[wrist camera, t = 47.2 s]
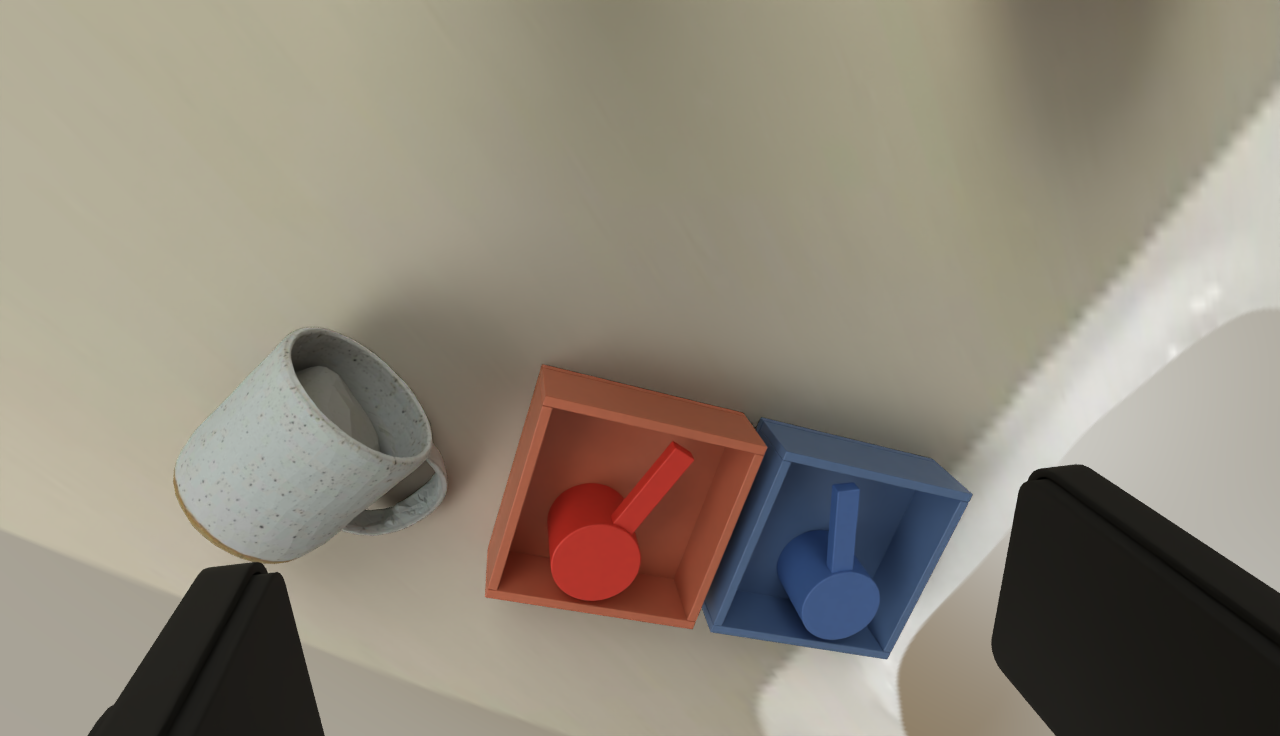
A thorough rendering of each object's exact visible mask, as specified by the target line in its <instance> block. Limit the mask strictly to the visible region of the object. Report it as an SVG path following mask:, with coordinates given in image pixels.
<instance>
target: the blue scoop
mask: <svg viewBox="0 0 1280 736" xmlns="http://www.w3.org/2000/svg"><path fill="white" fill-rule="evenodd" d="M859 497H860V489H859V488H858V487H857V485H856V484H855V483H854V482H850V483H842V484H833V485H832V495H831V508H830V522H829V531H826V530H813V531H809V532H806V533H803V534H801V535H799V536H797V537H796V538H794V539H793V540H791V541H790V542H789V543H788V544H787V545H786V546H785V548H784V549H783V550H782V552H781V554H780V556H779V559H778V562H777V574H778V577H779V580H780V582H781V583H782V585H783V587H784V589H785V591H786V593H787V594H788V596H789V598H790V600H791V602H792V604H793V606H794V607H795V609H796V611H797V613H798V615H799V617H800V618H801V620H802V622H803V624H804V626H805V628H806V629H807V630H808V631H809V632H810V633H811V634H813V635H815V636H816V637H819V638H822V639H827V640H837V639H843V638H846V637H849V636H852V635H854V634H856V633H857V632H859V631H861V630H862V629H863V628H864V627H866V626H867V625H868V624H869V623H870V622H871V620H872V619H873V618H874V616H875V614H876V612H877V610H878V607H879V603H880V593H879V589H878V587H877V585H876V583H875V582H874V581H873V579H872V578H871V576H870V575H869V574H868V572H867V571H866V570H865V568H864V567H863V566H862V564H861V563H860V561H859V560H858V559H857V557H856V556H855V555H854V552H855V541H856V530H857V519H858V508H859Z"/></svg>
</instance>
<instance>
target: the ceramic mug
mask: <svg viewBox="0 0 1280 736" xmlns="http://www.w3.org/2000/svg"><path fill="white" fill-rule="evenodd" d="M425 460H426V461H427V462H428V463H429V465H430V466H431V467H432V468H433V469H434V471H435V474H434V475H433V476H432V478H431V480H430V481H428V483H427V484H425V485H424V486H423V487H421V488H420V489H419V490H418V491H416V492H415V493H413V494H412V495H410V496H409V497H408V498H406V499H405V500H404V501H401V502H399V503H397V504H396V505H395V506H393V507H389V508H386V509H376V510H365V509H366V508H368V507H369V506H370V505H371V504H373V503H374V502H375V501H377V500H378V499H379V498H380V497H382V496H383V495H384V494H386V493H387V492H388V491H389V490H390V489H392V488H393V487H394V486H395V485H396V484H398V483H399V482H400V481H402V480H403V479H404V478H406V477H407V476H408V475H409V474H411V473H412V472H413V471H414V470H416V469H417V468H418V467H419V466H420V465H421V464H422V463H423V462H424V461H425ZM173 483H174V488H175V494H176V497H177V499H178V502H179V504H180V506H181V508H182V510H183V511H184V513H185V515H186V516H187V518H188V519H189V521H190V523H191V524H192V526H193V527H194V528H195V529H196V530H197V531H198V532H199V533H201V534H202V535H203V536H204V537H205V538H206V539H207V540H209V541H210V542H211V543H213V544H214V545H215V546H217V547H219V548H221V549H223V550H224V551H226V552H228V553H230V554H232V555H234V556H237V557H239V558H242V559H245V560H248V561H252V562H260V563H267V564H277V563H284V562H289V561H292V560H294V559H297V558H299V557H301V556H303V555H305V554H307V553H309V552H311V551H312V550H314V549H316V548H318V547H319V546H321V545H323V544H324V543H326V542H327V541H328V540H330V539H331V538H332V537H333V536H335V535H336V534H337V533H338V532H340V531H344V532H348V533H352V534H356V535H370V536H376V535H382V534H388V533H392V532H396V531H399V530H402V529H405V528H407V527H409V526H411V525H413V524H415V523H417V522H419V521H420V520H422V519H424V518H425V517H426V516H428V515H429V514H430V513H432V512H433V511H434V510H435V509H436V508H437V507H438V506H439V505H440V504H441V502H442V501H443V499H444V498H445V496H446V493H447V489H448V477H447V472H446V469H445V464H444V461H443V458H442V456H441V453H440V451H439V450H438V449H437V448H436V446H435V445H434V444H433V439H432V431H431V426H430V423H429V421H428V419H427V416H426V414H425V412H424V411H423V409H422V406H421V404H420V403H419V402H418V400H417V399H416V397H415V395H414V394H413V392H412V391H411V389H410V388H409V387H408V386H407V384H406V383H405V382H404V381H403V380H402V379H401V378H400V377H399V376H398V375H397V374H396V373H395V372H394V371H393V370H392V369H391V368H390V367H389V366H388V365H387V364H386V363H385V362H384V361H383V360H381V359H380V358H379V357H378V356H376V355H375V354H374V353H373V352H371V351H370V350H368V349H367V348H366V347H364V346H362V345H361V344H359V343H358V342H356V341H355V340H353V339H351V338H349V337H346V336H344V335H341V334H339V333H337V332H335V331H332V330H329V329H325V328H319V327H306V328H302V329H298V330H295V331H293V332H292V333H290V334H288V335H287V336H286V337H285V338H284V339H283V340H282V341H281V342H280V343H279V344H278V345H277V347H276V348H275V349H274V350H273V351H272V352H271V353H270V354H269V355H268V356H267V357H266V358H265V359H264V360H263V361H262V362H261V363H260V364H259V365H258V366H257V367H256V368H255V369H254V370H253V371H252V372H251V373H250V374H249V375H248V376H247V377H246V378H245V379H244V380H243V381H242V383H241V384H240V385H239V386H238V387H237V388H236V389H235V390H234V391H233V392H232V394H231V395H230V396H229V397H228V398H227V399H226V400H225V401H224V402H223V403H222V404H221V405H220V406H219V407H218V408H217V409H216V410H215V411H214V412H213V413H212V414H211V415H210V416H209V417H208V418H207V419H206V420H205V421H204V422H203V423H202V424H201V425H200V426H199V427H198V428H197V429H196V430H195V431H194V433H193V434H192V436H191V437H190V439H189V440H188V442H187V443H186V445H185V446H184V448H183V449H182V450H181V452H180V455H179V457H178V459H177V461H176V464H175V468H174V479H173Z"/></svg>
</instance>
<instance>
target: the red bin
mask: <svg viewBox="0 0 1280 736" xmlns="http://www.w3.org/2000/svg"><path fill="white" fill-rule="evenodd" d="M672 441H674V442H676V443H677V444H679V445H681V446H682V447H684V448H685V449H687V450H688V451H690V452H691V454H692V456H693V458H694V461H693V463H692V464H691V465H690V466H689V467H688V468H687V470H686V471H685V472H684V473H683V474H682V476H681V477H680V478H679V479H678V480H677V482H676V483H675V484H674V485H673V486H672V488H671V489H670V490H669V491H668V492H667V494H666V495H665V496H664V497H663V498H662V499H661V501H660V502H659V503H658V504H657V505H656V507H655V508H654V509H653V510H652V511H651V513H650V514H649V515H648V516H647V517H646V519H645V520H644V521H643V522H642V523H641V525H640V526H639V527H638V528H637V529H636V531H635V534H636V537H637V541H638V545H639V548H640V552H641V565H640V569H639V571H638V574H637V576H636V577H635V579H634V580H633V582H632V583H631V584H630V585H629V586H628V587H627V588H626V589H625V590H623V591H622V592H620V593H619V594H617V595H615V596H613V597H610V598H607V599H603V600H596V601H588V600H581V599H577V598H574V597H572V596H570V595H568V594H566V593H565V592H564V591H562V590H561V589H560V588H559V587H558V585H557V584H556V583H555V581H554V579H553V577H552V573H551V567H550V554H549V541H548V528H547V517H548V513H549V510H550V507H551V506H552V504H553V502H554V501H555V500H556V499H557V497H558V496H559V495H561V494H562V493H563V492H564V491H566V490H567V489H569V488H571V487H574V486H577V485H580V484H586V483H597V484H602V485H606V486H609V487H611V488H612V489H614V490H616V491H617V492H618V493H619V494H620V495H621V496H622V497H623V498H624V499H625V498H626V497H627V495H628V494H629V493H630V492H631V491H632V489H633V488H634V487H635V486H636V485H637V483H638V482H639V481H640V480H641V478H642V477H643V476H644V475H645V474H646V472H647V471H648V470H649V469H650V468H651V466H652V465H653V464H654V463H655V461H656V460H657V459H658V458H659V457H660V455H661V454H662V453H663V452H664V451H665V449H666V448H667V447H668V446H669V444H670V443H671V442H672ZM766 450H767V446H766V444H765V443H764V441H763V440H762V439H761V437H760V436H759V434H758V433H757V432H756V430H755V429H754V427H753V426H752V424H751V423H750V422H749V420H748V419H747V417H746V416H745V415H744V413H742V412H738V411H734V410H729V409H725V408H721V407H717V406H713V405H709V404H705V403H701V402H696V401H692V400H688V399H684V398H680V397H676V396H672V395H668V394H663V393H659V392H655V391H651V390H647V389H643V388H639V387H635V386H630V385H626V384H622V383H618V382H614V381H610V380H606V379H602V378H597V377H593V376H589V375H585V374H581V373H577V372H573V371H569V370H564V369H560V368H556V367H552V366H548V365H544V364H542V366H541V369H540V373H539V376H538V380H537V383H536V386H535V390H534V393H533V397H532V400H531V403H530V407H529V410H528V414H527V417H526V420H525V424H524V427H523V431H522V434H521V437H520V441H519V444H518V448H517V451H516V454H515V458H514V461H513V465H512V468H511V471H510V475H509V478H508V482H507V485H506V488H505V492H504V495H503V499H502V502H501V505H500V509H499V512H498V516H497V519H496V522H495V526H494V529H493V533H492V536H491V539H490V543H489V546H488V552H487V570H486V588H485V597H487V598H494V599H500V600H507V601H513V602H519V603H526V604H532V605H539V606H545V607H552V608H558V609H565V610H571V611H578V612H584V613H591V614H597V615H603V616H610V617H616V618H623V619H629V620H636V621H642V622H649V623H655V624H662V625H668V626H675V627H681V628H688V629H693V627H694V625H695V621H696V620H697V617H698V615H699V612H700V610H701V608H702V605H703V603H704V600H705V598H706V595H707V593H708V591H709V588H710V586H711V583H712V581H713V578H714V576H715V574H716V571H717V569H718V566H719V564H720V561H721V559H722V557H723V554H724V552H725V549H726V547H727V544H728V542H729V540H730V537H731V535H732V532H733V530H734V527H735V525H736V523H737V520H738V518H739V515H740V513H741V510H742V508H743V506H744V503H745V501H746V498H747V496H748V493H749V491H750V489H751V486H752V484H753V481H754V479H755V476H756V474H757V472H758V469H759V467H760V464H761V462H762V459H763V457H764V456H763V455H764V454H765V452H766Z"/></svg>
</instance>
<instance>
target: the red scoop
mask: <svg viewBox="0 0 1280 736" xmlns="http://www.w3.org/2000/svg"><path fill="white" fill-rule="evenodd" d="M693 461H694V458H693V456H692V454H691V452H690V451H688V450H687V449H685V448H684V447H682V446H681V445H679V444H677V443H676V442H674V441H672V442H671V443H670V444H669V446H668V447H667V448H666V449H665V451H664V452H663V453H662V454H661V455H660V457H659V458H658V459H657V460H656V461H655V463H654V464H653V465H652V466H651V468H650V469H649V470H648V471H647V472H646V474H645V475H644V476H643V477H642V478H641V480H640V481H639V482H638V483H637V485H636V486H635V487H634V488H633V489H632V491H631V492H630V493H629V494H628V495H627V497H626V498H625V499H624V498H623V497H622V496H621V495H620V494H619V493H618V492H617V491H616V490H614V489H612V488H611V487H609V486H606V485H602V484H597V483H586V484H580V485H577V486H574V487H571V488H569V489H567V490H566V491H564V492H563V493H562V494H561V495H559V496H558V497H557V499H556V500H555V501H554V502H553V504H552V506H551V507H550V510H549V513H548V517H547V528H548V541H549V554H550V567H551V573H552V577H553V579H554V581H555V583H556V584H557V585H558V587H559V588H560V589H561V590H562V591H564V592H565V593H566V594H568V595H570V596H572V597H574V598H577V599H581V600H588V601H596V600H603V599H607V598H610V597H613V596H615V595H617V594H619V593H620V592H622V591H623V590H625V589H626V588H627V587H628V586H629V585H630V584H631V583H632V582H633V580H634V579H635V577H636V576H637V574H638V571H639V569H640V565H641V552H640V548H639V545H638V541H637V537H636V534H635V531H636V529H637V528H638V527H639V526H640V525H641V523H642V522H643V521H644V520H645V519H646V517H647V516H648V515H649V514H650V513H651V511H652V510H653V509H654V508H655V507H656V505H657V504H658V503H659V502H660V501H661V499H662V498H663V497H664V496H665V495H666V494H667V492H668V491H669V490H670V489H671V488H672V486H673V485H674V484H675V483H676V482H677V480H678V479H679V478H680V477H681V476H682V474H683V473H684V472H685V471H686V470H687V468H688V467H689V466H690V465H691V464H692V463H693Z"/></svg>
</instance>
